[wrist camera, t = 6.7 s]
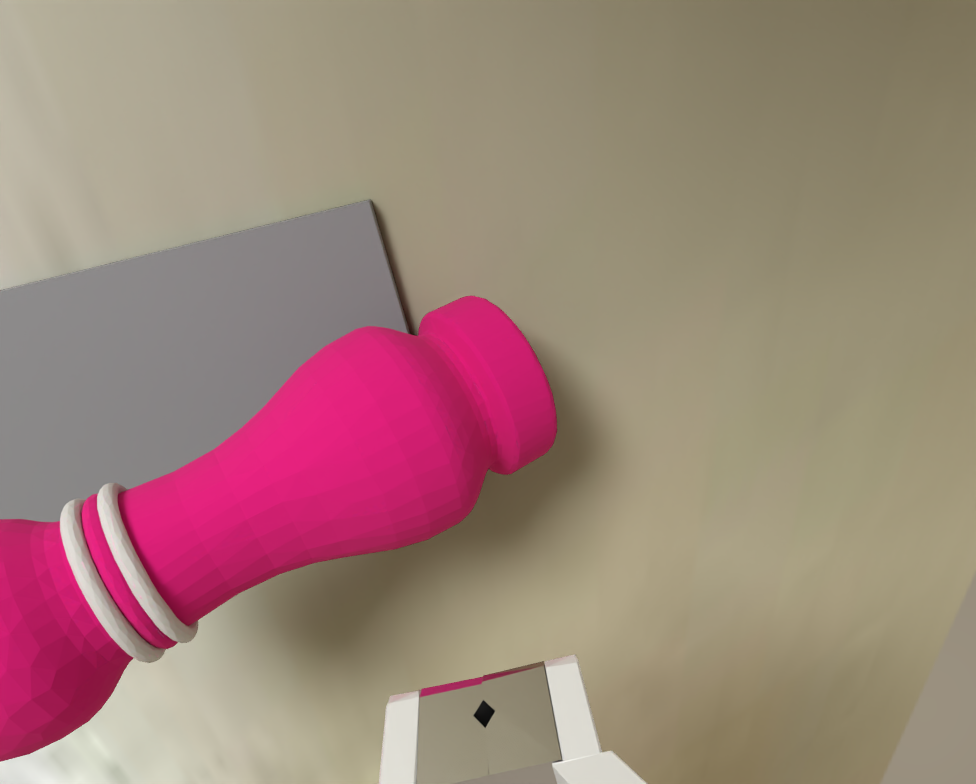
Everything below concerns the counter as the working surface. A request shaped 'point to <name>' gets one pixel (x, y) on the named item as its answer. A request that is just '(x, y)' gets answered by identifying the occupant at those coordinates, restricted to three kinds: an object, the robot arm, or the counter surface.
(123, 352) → the mat
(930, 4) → the counter surface
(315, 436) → the pepper mill
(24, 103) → the counter surface
